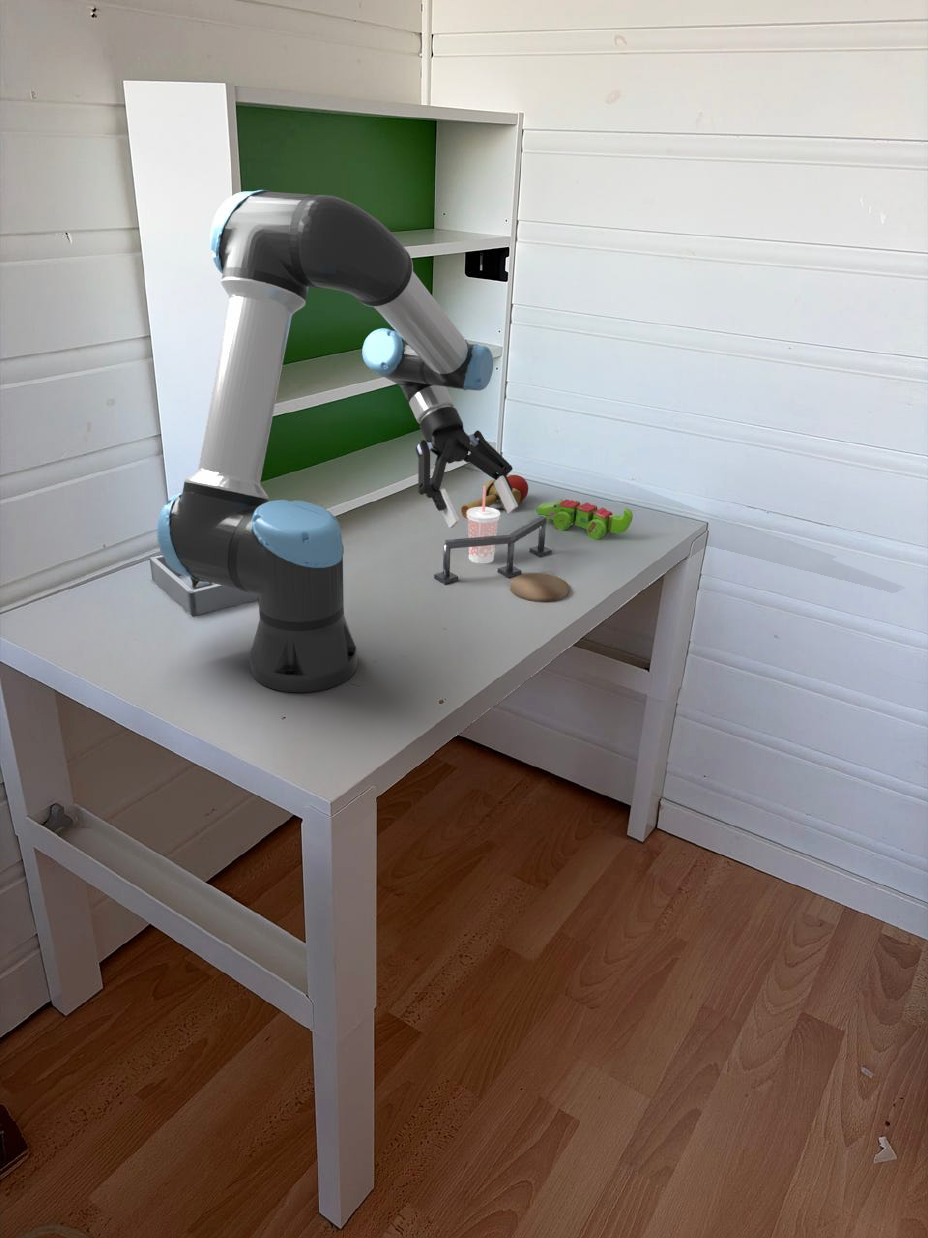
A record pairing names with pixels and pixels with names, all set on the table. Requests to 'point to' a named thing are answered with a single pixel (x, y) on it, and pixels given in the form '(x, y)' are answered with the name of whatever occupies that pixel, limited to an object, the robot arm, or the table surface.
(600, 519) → the toy crocodile
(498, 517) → the beverage cup
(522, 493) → the kendama
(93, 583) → the table surface
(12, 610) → the table surface
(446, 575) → the bent rail
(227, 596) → the slate open-top tray
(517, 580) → the walnut pad
